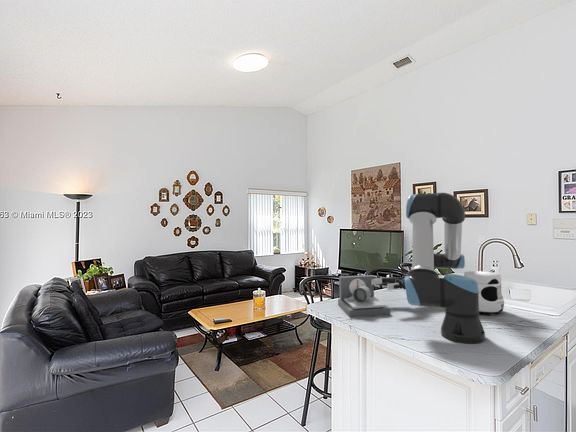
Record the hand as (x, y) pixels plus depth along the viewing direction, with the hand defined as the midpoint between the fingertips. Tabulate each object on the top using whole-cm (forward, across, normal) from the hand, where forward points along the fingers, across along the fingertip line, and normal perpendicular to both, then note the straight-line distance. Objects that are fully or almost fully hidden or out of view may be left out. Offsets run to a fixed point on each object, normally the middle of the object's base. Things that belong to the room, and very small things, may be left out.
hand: (379, 284), depth 167 cm
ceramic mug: (+11, +1, -8) cm, 14 cm away
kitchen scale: (+9, +2, -12) cm, 15 cm away
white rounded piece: (-41, -25, -12) cm, 50 cm away
